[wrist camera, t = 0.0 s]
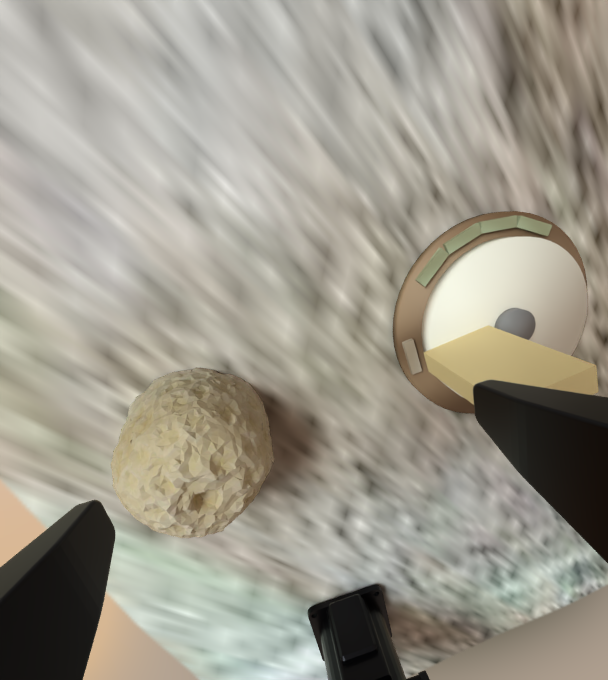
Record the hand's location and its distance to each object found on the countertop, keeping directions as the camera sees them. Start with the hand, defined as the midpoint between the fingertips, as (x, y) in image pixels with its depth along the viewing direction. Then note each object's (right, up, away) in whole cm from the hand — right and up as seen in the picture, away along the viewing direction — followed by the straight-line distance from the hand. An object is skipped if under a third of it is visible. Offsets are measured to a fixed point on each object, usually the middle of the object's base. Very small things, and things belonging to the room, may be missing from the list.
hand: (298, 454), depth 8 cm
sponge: (-7, -3, +16) cm, 17 cm away
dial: (+13, +4, +15) cm, 21 cm away
